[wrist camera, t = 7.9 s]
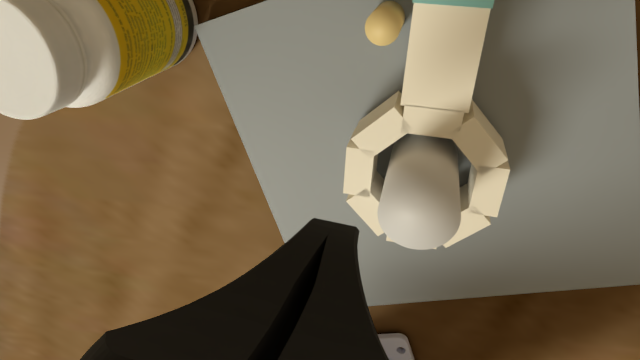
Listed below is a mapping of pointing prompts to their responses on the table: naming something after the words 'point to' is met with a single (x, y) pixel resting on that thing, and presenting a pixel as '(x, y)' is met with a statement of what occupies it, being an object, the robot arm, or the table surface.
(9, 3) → the supplement bottle
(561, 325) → the table surface
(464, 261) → the post board
